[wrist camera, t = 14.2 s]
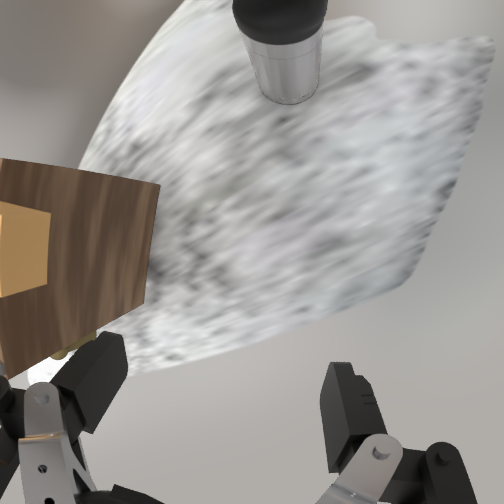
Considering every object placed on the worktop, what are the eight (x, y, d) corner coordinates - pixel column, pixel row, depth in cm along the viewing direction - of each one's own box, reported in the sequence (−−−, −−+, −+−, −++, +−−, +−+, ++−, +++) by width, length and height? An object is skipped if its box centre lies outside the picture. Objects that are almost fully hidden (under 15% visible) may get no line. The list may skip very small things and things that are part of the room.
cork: (101, 334, 51) (65, 355, 40) (87, 348, 52) (54, 370, 41) (83, 309, 51) (45, 326, 40) (70, 325, 52) (35, 342, 41)
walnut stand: (91, 285, 50) (-50, 336, 19) (103, 177, 47) (-53, 157, 16) (143, 303, 48) (-3, 386, 17) (160, 184, 45) (-12, 156, 14)
